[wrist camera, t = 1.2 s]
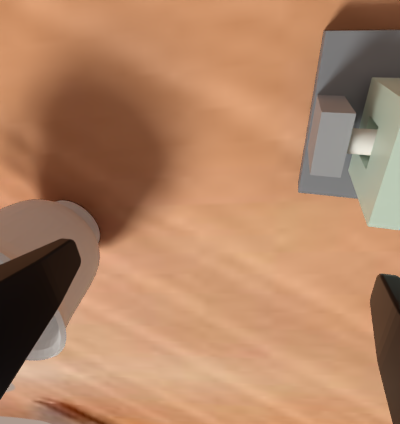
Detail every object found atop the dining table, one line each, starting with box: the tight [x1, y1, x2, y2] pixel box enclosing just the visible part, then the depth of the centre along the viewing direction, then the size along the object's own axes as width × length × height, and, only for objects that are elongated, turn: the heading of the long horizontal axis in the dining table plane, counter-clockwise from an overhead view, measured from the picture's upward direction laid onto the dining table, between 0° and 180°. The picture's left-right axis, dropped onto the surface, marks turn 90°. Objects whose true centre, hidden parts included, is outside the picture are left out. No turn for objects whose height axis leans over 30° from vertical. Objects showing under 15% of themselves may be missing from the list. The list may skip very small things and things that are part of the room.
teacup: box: [0, 199, 100, 360], centre depth 25 cm, size 12×15×10 cm
